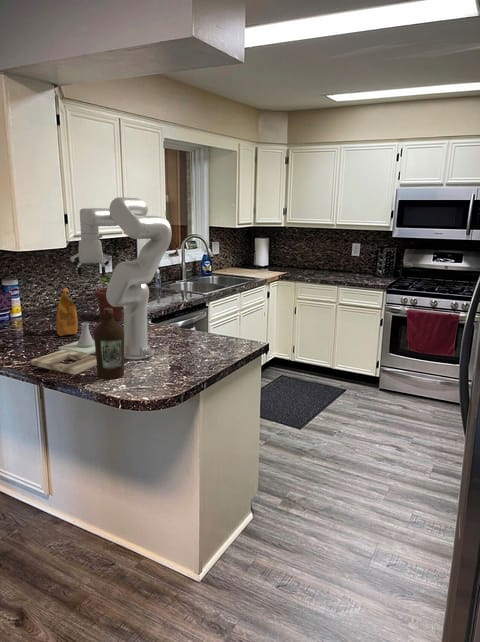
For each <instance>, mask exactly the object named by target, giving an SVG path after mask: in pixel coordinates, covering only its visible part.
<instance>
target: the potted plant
mask: <svg viewBox="0 0 480 642" xmlns="http://www.w3.org/2000/svg"><path fill="white" fill-rule="evenodd" d="M111 277H112V274H111V275H110V278H109V279H107V278H106V277H102V278H101V279H100V280H101V281H103V282H108V283H109V282H110V280H111ZM94 292H95V297H96V298H98V300H97V301H98V308H99V315H100V317H99V319H97V323H101V322H102V321H103V320H104V309H106V308H112V309H113V319H114V320H115V321H116V322H118V321H121V320H122V319H123V310H124V311H125V308H126V306H127V305H126V306H120V307H114V306H112V305H110V304H109V303H108V301H107V298H106V292H107V288H101V289H97V290H95V291H94Z"/></svg>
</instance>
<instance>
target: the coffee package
mask: <svg viewBox="0 0 480 642" xmlns="http://www.w3.org/2000/svg"><path fill="white" fill-rule="evenodd" d="M69 294H70V292H69V289H68V288H67V287H64V288H63V289H62V294H61V297H60V299H59V302H58V306H57V310H56V318H55V319H56V323H55V324H56V333H57V335H58V337H59V336H61V337H63V336H69V335H70V336H71V335H76V334H77V333H78V329H79V325H78V323H79V321H78V320H79V319H78V314H77V312H78V311H77V307H76V305H75V304H74V302H73V301H72V299H71V298H70V297H69V296H68V295H69Z"/></svg>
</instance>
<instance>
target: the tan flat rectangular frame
mask: <svg viewBox="0 0 480 642" xmlns="http://www.w3.org/2000/svg"><path fill="white" fill-rule="evenodd" d="M65 360H74V362H72V363H69V364H68V363H62V361H65ZM31 366H34V367H39V368H43V369H48V370H52V371H57V372H61V373H66V374H68V375H69V374H71V375H76V374H77V375H78V374H79V373H82V372H85V371H86V370H87V371H88V370H89V369H92V368H95V367H97V360H96V355H91V354H88V355H87V354H82V353H77V352H72V351H67V350H58V351H56V352H52V353H49V354H47V355H43V356H40V357H36V358H33V359H31Z"/></svg>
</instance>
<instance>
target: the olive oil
mask: <svg viewBox="0 0 480 642" xmlns="http://www.w3.org/2000/svg"><path fill="white" fill-rule="evenodd" d="M124 337H125V336H124V327H122V326H121V325H120V324H119V323H118V321H115V320H114V319H113V309H112V308H106V309H104V320H103V321H102V322H99V324H98V325H97V327H96V328H95V330H94V334H93V338H94V339H93V340H94V341H95V350H96V352H95V356H96V360H97V366H96V369H97V371H96V372H97V377H98V378H99V379H101V380H116V379H117V380H118V379H120V378H122V377H123V376H124V375H125V358H124V351H125V344H124Z"/></svg>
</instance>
